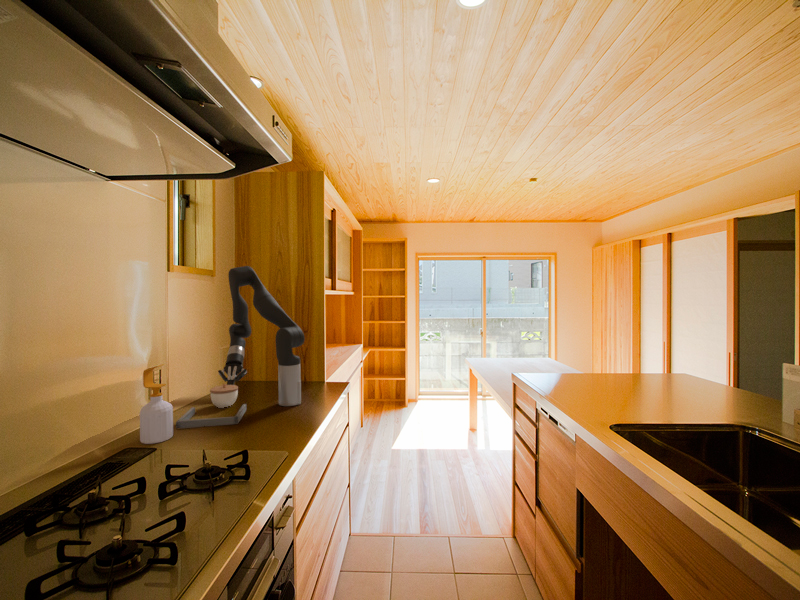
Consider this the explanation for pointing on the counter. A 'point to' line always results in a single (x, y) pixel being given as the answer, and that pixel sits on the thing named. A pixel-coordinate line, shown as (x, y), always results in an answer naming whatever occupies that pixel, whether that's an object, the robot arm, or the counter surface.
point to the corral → (208, 419)
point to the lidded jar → (224, 395)
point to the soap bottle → (155, 413)
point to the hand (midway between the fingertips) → (229, 388)
